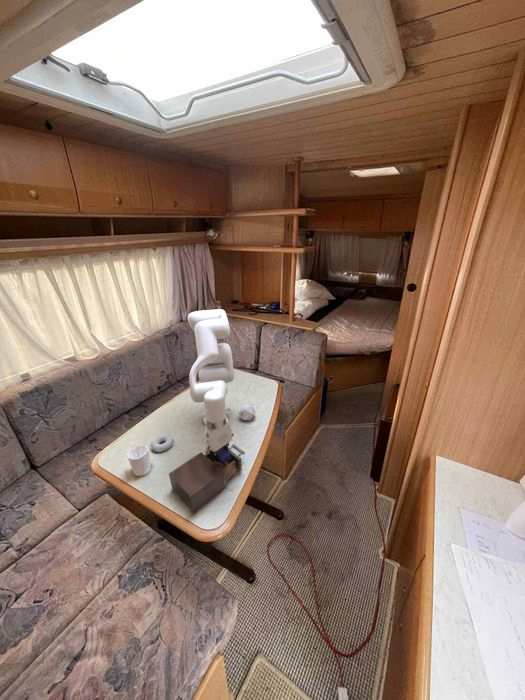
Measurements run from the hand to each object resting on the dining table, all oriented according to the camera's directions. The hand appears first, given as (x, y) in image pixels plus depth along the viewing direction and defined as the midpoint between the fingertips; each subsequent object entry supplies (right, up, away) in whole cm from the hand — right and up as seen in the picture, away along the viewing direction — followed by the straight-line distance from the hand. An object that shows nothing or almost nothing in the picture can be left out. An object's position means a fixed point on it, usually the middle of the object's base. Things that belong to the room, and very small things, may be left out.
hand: (220, 456), depth 112 cm
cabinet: (-8, -11, -5) cm, 14 cm away
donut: (-30, -2, +18) cm, 35 cm away
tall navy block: (0, 0, 0) cm, 0 cm away
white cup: (-34, -8, +5) cm, 35 cm away
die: (+9, +7, +35) cm, 37 cm away
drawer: (+1, -6, +3) cm, 7 cm away
